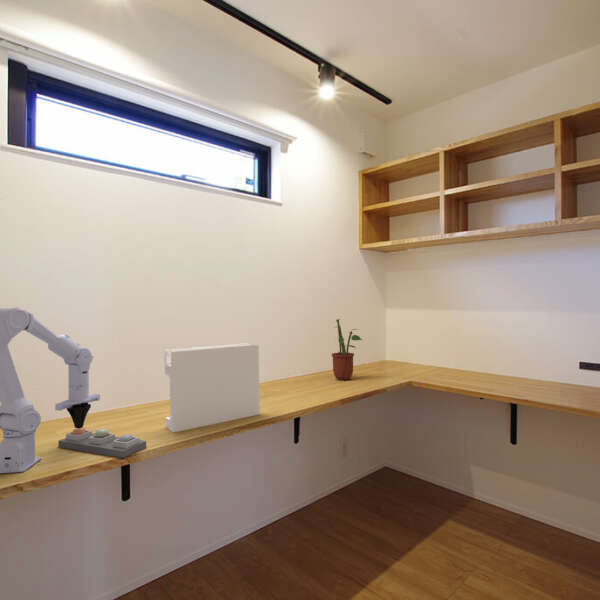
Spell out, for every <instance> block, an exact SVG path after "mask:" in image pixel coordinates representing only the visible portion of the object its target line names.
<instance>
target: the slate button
mask: <svg viewBox="0 0 600 600" xmlns="http://www.w3.org/2000/svg"><path fill="white" fill-rule="evenodd" d="M119 437H120V441H121V442H128V441H130V440H133V437H134V436H133V434H129V433H128V434H123V435H121V436H119Z"/></svg>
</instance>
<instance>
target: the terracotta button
mask: <svg viewBox="0 0 600 600" xmlns="http://www.w3.org/2000/svg"><path fill="white" fill-rule="evenodd" d="M85 430H86V428H85V427H83V428H74V429H73V430H72V432H73V434H74V435H80V434H83V433H85Z"/></svg>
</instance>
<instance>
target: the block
mask: <svg viewBox="0 0 600 600" xmlns="http://www.w3.org/2000/svg"><path fill="white" fill-rule="evenodd" d="M259 348H260V347H259V343H256V344H250V343H249V342H248V343H236V344H235V343H233V344H224V345H223V344H221V345H211V346H209V345H208V346H197V347H186V348H185V347H184V348H174V349H173V348H172V349H164V375H166V376H168V377H169V378H168V379H169V407H170V408H169V412H170V415H169V416H166V417H165V418H164V419H165V423H164V424H165V428H166V429H168V430H169V431H171V432H172V433H177V432H182V431H187V430H192V429H196V428H200V427H201V428H202V427H205V426H206V427H207V426H211V425H216V424H220V423H221V424H222V423H225V422H230V421H234V420H239V419H244V418H249V417H253V416H257V415H259V416H260V413H261V412H260V366H259V365H260V363H259V362H260V359H259V356H260V355H259V352H260V351H259Z"/></svg>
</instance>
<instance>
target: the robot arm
mask: <svg viewBox="0 0 600 600" xmlns="http://www.w3.org/2000/svg"><path fill="white" fill-rule="evenodd" d="M22 331H25V332H27V333H29V334H30V335H32V336H34V337H35V338H37V339H39V340H41V341H42V342H44V343H45V344H47V349H48V350H49V351H50V352H52V353H54V354H56V355H57V356H58V357H60V358H62V359H63V362H64V364H65V365H68V381H67V382H68V388H67V389H68V399H67V400H63V401H61V402H58V403H55V411H60V412H61V411H63V410H65V409H66V411H67V412H68V414H69V415H70V417H71V419H72V422H73V423H72V424H73V426H74V429H77V428H84V424H85V421H86V417H87V415H88V413H89V412H90V409H91V408H92V404H91V403H93V402H95V401H96V402H98V401H99V402H100V400H101V394H97V393H96V394H90V391H89V390H90V389H89V388H90V384H89V383H90V382H89V381H90V380H89V379H90V369H91V364H92V362H93V360H94V356H93V354H92V352H91V350H89V349H88V348H82V347H81V344H80V343H77V342H74V341H73V340H71V339H70V336H69V335H68V334H62V333H61V334H56V333H54V332H53V331H52V330H51V329H49V328H48V327H47V326H45V325H44V323H42V322H41V321H40V320H39V319H37V318H36V317H35V316H34V315H33V314H32V313H31V312H28V311H27V310H26V309H24V308H22V307H11V308H10V307H9V308H3V307H2V308H1V307H0V430H2V440H1V442H0V474H6V473H7V474H8V473H9V474H10V473H22V472H23V473H24V472H26V471H28V469H30V468H31V467H32V466H34V465H35V464H36V463H38V462H39V461H40V460H42V459H43V458H42V456H36V431H37V429H38V428H39V426H40V425H41V421H42V418H41V417H42V416H41V414H40V412H38V411H37V410H36V409H35V407H34V404H33V403H32V402H31V401H29V400H28V399H27V397H25V394H24V390H23V388H22V385H21V382H20V379H19V376H18V373H17V370H16V367H15V364H14V362H13V359H12V356H11V351H10V349H9V346H8V345H9V344H10V343H11V342H12V340H13V339H14V338H15V337H16V336H18V334H19V333H21V332H22Z"/></svg>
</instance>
